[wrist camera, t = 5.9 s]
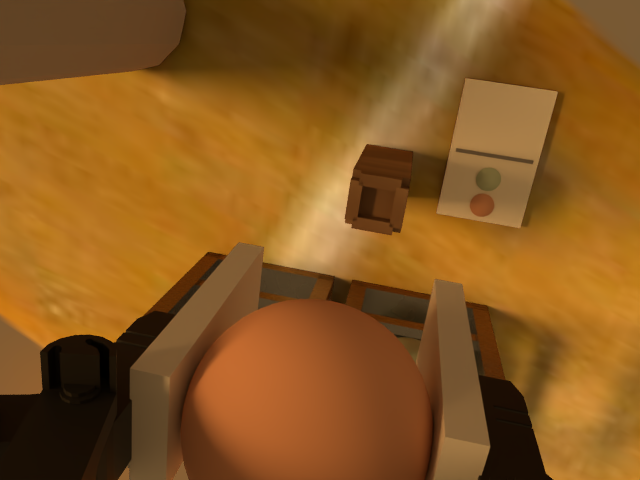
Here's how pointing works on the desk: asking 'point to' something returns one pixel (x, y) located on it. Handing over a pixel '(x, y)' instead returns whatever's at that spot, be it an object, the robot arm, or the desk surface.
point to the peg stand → (379, 190)
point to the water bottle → (85, 37)
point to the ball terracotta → (307, 400)
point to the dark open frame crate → (409, 318)
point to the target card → (495, 151)
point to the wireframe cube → (273, 285)
